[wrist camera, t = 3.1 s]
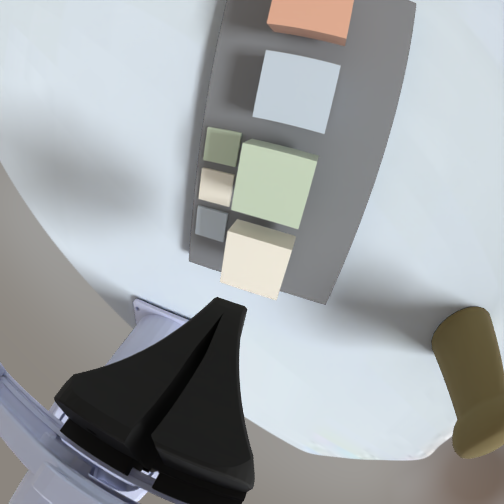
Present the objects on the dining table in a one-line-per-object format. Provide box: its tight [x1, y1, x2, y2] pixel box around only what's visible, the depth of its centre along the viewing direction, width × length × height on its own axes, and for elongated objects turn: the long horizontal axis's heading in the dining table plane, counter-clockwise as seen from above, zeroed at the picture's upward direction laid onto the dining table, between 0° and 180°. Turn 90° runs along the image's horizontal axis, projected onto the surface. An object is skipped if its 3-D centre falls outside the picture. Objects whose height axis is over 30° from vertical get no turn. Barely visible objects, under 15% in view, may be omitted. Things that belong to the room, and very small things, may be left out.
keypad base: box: [189, 0, 416, 305], centre depth 14 cm, size 20×10×1 cm, turn 169°
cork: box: [431, 307, 504, 459], centre depth 13 cm, size 6×6×11 cm
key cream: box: [220, 219, 296, 300], centre depth 16 cm, size 3×3×2 cm
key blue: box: [252, 50, 341, 134], centre depth 11 cm, size 3×3×2 cm
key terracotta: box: [267, 0, 354, 46], centre depth 8 cm, size 3×3×2 cm
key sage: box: [231, 139, 319, 229], centre depth 13 cm, size 3×3×2 cm
